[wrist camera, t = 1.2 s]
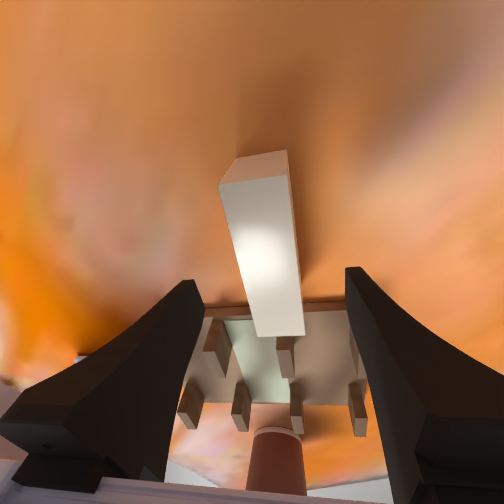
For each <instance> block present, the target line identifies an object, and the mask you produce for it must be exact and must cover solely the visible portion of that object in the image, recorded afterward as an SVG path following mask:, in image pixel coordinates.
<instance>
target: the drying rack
mask: <svg viewBox="0 0 504 504" xmlns="http://www.w3.org/2000/svg"><path fill="white" fill-rule="evenodd" d="M303 309H304V323H305V336H273V337H258V336H257V333H256V329H255V325H254V321H253V317H252V314H251V310H250V306H242V307H224V308H206V309H205V314H204V319H203V324H202V328H201V331H200V334H199V337H198V340H197V343H196V345H195V348H194V351H193V354H192V357H191V359H190V362H189V365H188V368H187V371H186V374H185V377H184V381H183V386H184V388H185V389H184V392H183V395H182V398H181V401H180V404H179V407H178V410H177V414H178V415H179V417H180V418H181V420H182V421H183V423H184V424H185V425H186V427H187V428H188V429H197V426H198V423H199V419H200V415H201V411H202V407H203V403H204V402H209V403H233V405H232V411H231V416H232V418H233V420H234V422H235V424H236V426H237V429H238V431H243V432H248V430H249V421H250V412H251V403H255V404H290V417H291V422H292V427H293V431H294V434H304V416H303V405H346V406H349V411H350V416H351V421H352V426H353V432H354V436H356V437H366V431H367V421H368V417H367V413H366V409H365V405H364V403H365V392H366V380H367V379H368V378H367V375H366V371H365V368H364V365H363V362H362V359H361V356H360V353H359V350H358V347H357V344H356V341H355V338H354V335H353V332H352V329H351V326H350V323H349V319H348V314H347V309H346V304H345V301H334V302H315V303H303Z"/></svg>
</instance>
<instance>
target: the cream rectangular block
mask: <svg viewBox="0 0 504 504" xmlns="http://www.w3.org/2000/svg"><path fill="white" fill-rule="evenodd" d="M218 189H219V193H220V197H221V200H222V204H223V208H224V212H225V216H226V219H227V223H228V227H229V231H230V234H231V238H232V242H233V246H234V250H235V253H236V257H237V261H238V265H239V268H240V272H241V276H242V280H243V284H244V287H245V291H246V295H247V299H248V302H249V306H250V310H251V314H252V317H253V321H254V325H255V329H256V333H257V336H258V337H273V336H305V323H304V309H303V296H302V283H301V274H300V265H299V255H298V246H297V237H296V228H295V219H294V210H293V200H292V191H291V182H290V173H289V164H288V154H287V149H286V150H280V151H274V152H268V153H263V154H257V155H251V156H245V157H239V158H236V159H235V160H234V162H233V163H232V165H231V166H230V168H229V169H228V171H227V172H226V173H225V175H224V176H223V178H222V179H221V181H220V182H219V184H218Z"/></svg>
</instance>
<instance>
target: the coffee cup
mask: <svg viewBox="0 0 504 504" xmlns="http://www.w3.org/2000/svg"><path fill="white" fill-rule="evenodd" d="M246 490H247V491H258V492H268V493H279V494H289V495H300V496H307V490H306V481H305V472H304V463H303V454H302V445H301V437H300V436H299V434H294V431H292V430H289V429H286V428H283V427H275V426H272V427H263V428H260V429H258V430H257V431H256V432H255V433H254V441H253V447H252V453H251V460H250V466H249V472H248V478H247V484H246Z"/></svg>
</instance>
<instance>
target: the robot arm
mask: <svg viewBox="0 0 504 504" xmlns="http://www.w3.org/2000/svg"><path fill="white" fill-rule="evenodd" d="M345 304H346V309H347V314H348V319H349V323H350V326H351V329H352V332H353V335H354V338H355V341H356V344H357V347H358V350H359V353H360V356H361V359H362V362H363V365H364V368H365V371H366V375H367V378H368V382H369V387H370V391H371V395H372V400H373V404H374V409H375V413H376V418H377V422H378V427H379V432H380V436H381V441H382V446H383V451H384V456H385V460H386V466H387V471H388V476H389V481H390V486H391V491H392V496H393V501H394V504H504V375H502V374H500V373H498V372H496V371H495V370H493V369H491V368H489V367H487V366H486V365H484V364H482V363H480V362H479V361H477V360H475V359H473V358H472V357H470V356H468V355H467V354H465V353H463V352H462V351H460V350H459V349H457V348H456V347H454V346H452V345H451V344H449V343H448V342H446V341H445V340H443V339H441V338H440V337H438V336H437V335H436V334H434V333H433V332H431V331H430V330H429V329H427V328H426V327H425V326H423V325H422V324H421V323H419V322H418V321H417V320H415V319H414V318H413V317H412V316H411V315H409V314H408V313H407V312H406V311H405V310H403V309H402V308H401V307H400V306H399V305H398V304H397V303H396V302H394V301H393V300H392V299H391V298H390V297H389V296H388V295H387V294H386V293H385V292H384V291H383V290H382V289H381V288H380V287H379V286H378V285H377V284H376V283H375V282H374V281H373V280H372V279H371V278H370V277H369V275H368V274H367V273H366V272H365V271H364V270H363V269H362V268H361V267H347V268H345ZM204 314H205V306H204V304H203V301H202V299H201V296H200V294H199V291H198V289H197V286H196V283H195V281H194V279H192V280H182V281H181V282H180V283H179V284H178V285H176V286H175V287H174V288H173V289H172V290H171V291H170V292H169V293H168V294H167V295H166V296H165V297H164V298H162V299H161V300H160V301H159V302H158V303H157V304H156V305H155V306H154V307H153V308H152V309H151V310H149V311H148V312H147V313H146V314H145V315H144V316H142V317H141V318H140V319H139V320H138V321H137V322H135V323H134V324H133V325H132V326H131V327H129V328H128V329H127V330H125V331H124V332H123V333H121V334H120V335H119V336H117V337H116V338H115V339H113V340H112V341H110V342H109V343H107V344H106V345H104V346H103V347H101V348H100V349H98V350H97V351H95V352H94V353H92V354H91V355H89V356H76V357H75V359H74V361H75V362H76V363H75V364H74V365H72V366H70V367H68V368H67V369H65V370H63V371H61V372H59V373H57V374H55V375H53V376H51V377H49V378H47V379H45V380H43V381H41V382H39V383H37V384H35V385H33V386H31V387H29V388H27V389H25V390H24V391H23V392H22V394H21V395H20V396H19V397H18V399H17V400H16V401H15V402H14V403H13V404H12V406H11V407H10V408H9V409H8V410H7V412H6V413H5V414H4V415H3V416H2V417H1V418H0V435H1V436H3V437H4V438H6V439H7V440H9V441H10V442H12V443H14V444H15V445H17V446H18V447H20V448H21V449H23V450H24V451H26V452H27V453H29V454H28V456H27V457H26V459H25V460H24V462H23V463H22V462H19V461H15V460H7V459H0V504H384V503H373V502H363V501H352V500H341V499H331V498H321V497H310V496H300V495H289V494H279V493H268V492H258V491H247V490H237V489H226V488H215V487H204V486H194V485H184V484H173V483H164V479H165V472H166V465H167V459H168V453H169V446H170V441H171V436H172V430H173V425H174V420H175V415H176V411H177V406H178V402H179V397H180V393H181V389H182V385H183V381H184V377H185V374H186V371H187V368H188V365H189V362H190V359H191V357H192V354H193V351H194V348H195V345H196V343H197V340H198V337H199V334H200V331H201V328H202V324H203V319H204Z"/></svg>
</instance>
